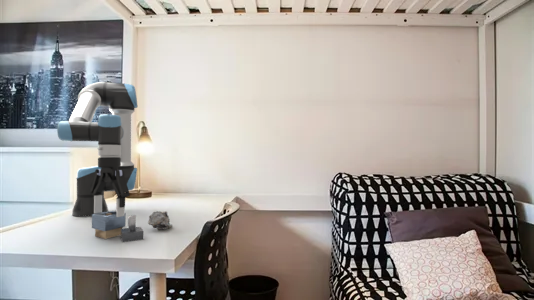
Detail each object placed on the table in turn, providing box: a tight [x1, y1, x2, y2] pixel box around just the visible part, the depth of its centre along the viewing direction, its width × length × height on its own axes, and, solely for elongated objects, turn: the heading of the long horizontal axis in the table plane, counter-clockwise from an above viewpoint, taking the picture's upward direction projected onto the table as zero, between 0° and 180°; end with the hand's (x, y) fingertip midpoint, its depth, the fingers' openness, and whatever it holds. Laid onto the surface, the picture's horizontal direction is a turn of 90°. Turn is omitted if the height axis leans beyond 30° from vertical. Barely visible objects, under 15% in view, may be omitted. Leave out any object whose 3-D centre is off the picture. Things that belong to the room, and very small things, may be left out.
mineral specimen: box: [147, 210, 173, 231], centre depth 123 cm, size 10×8×10 cm
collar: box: [91, 210, 127, 231], centre depth 113 cm, size 8×8×5 cm
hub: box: [120, 214, 145, 243], centre depth 109 cm, size 7×7×8 cm
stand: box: [94, 213, 123, 240], centre depth 113 cm, size 6×6×8 cm
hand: (108, 214), depth 112 cm, fingers open, 13 cm apart
